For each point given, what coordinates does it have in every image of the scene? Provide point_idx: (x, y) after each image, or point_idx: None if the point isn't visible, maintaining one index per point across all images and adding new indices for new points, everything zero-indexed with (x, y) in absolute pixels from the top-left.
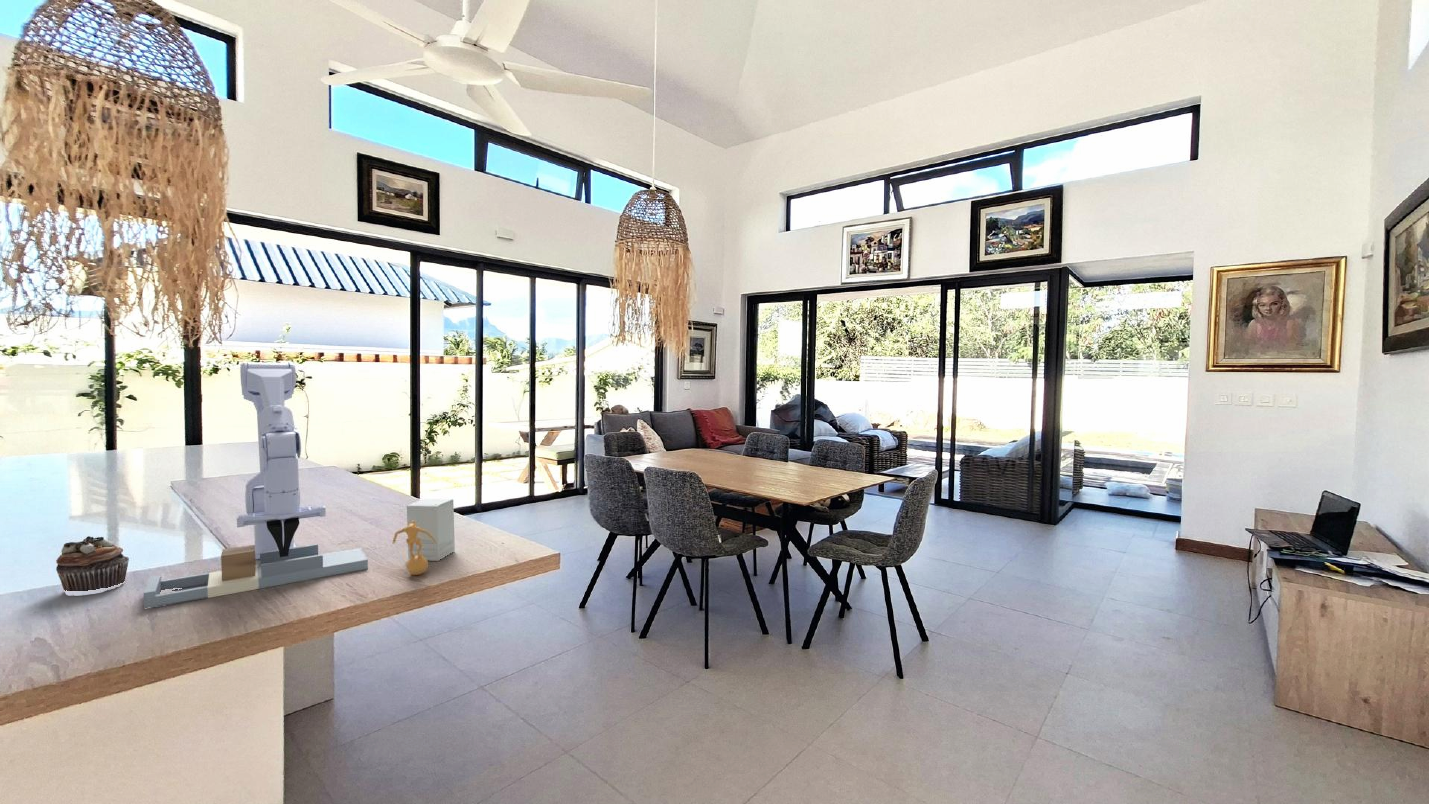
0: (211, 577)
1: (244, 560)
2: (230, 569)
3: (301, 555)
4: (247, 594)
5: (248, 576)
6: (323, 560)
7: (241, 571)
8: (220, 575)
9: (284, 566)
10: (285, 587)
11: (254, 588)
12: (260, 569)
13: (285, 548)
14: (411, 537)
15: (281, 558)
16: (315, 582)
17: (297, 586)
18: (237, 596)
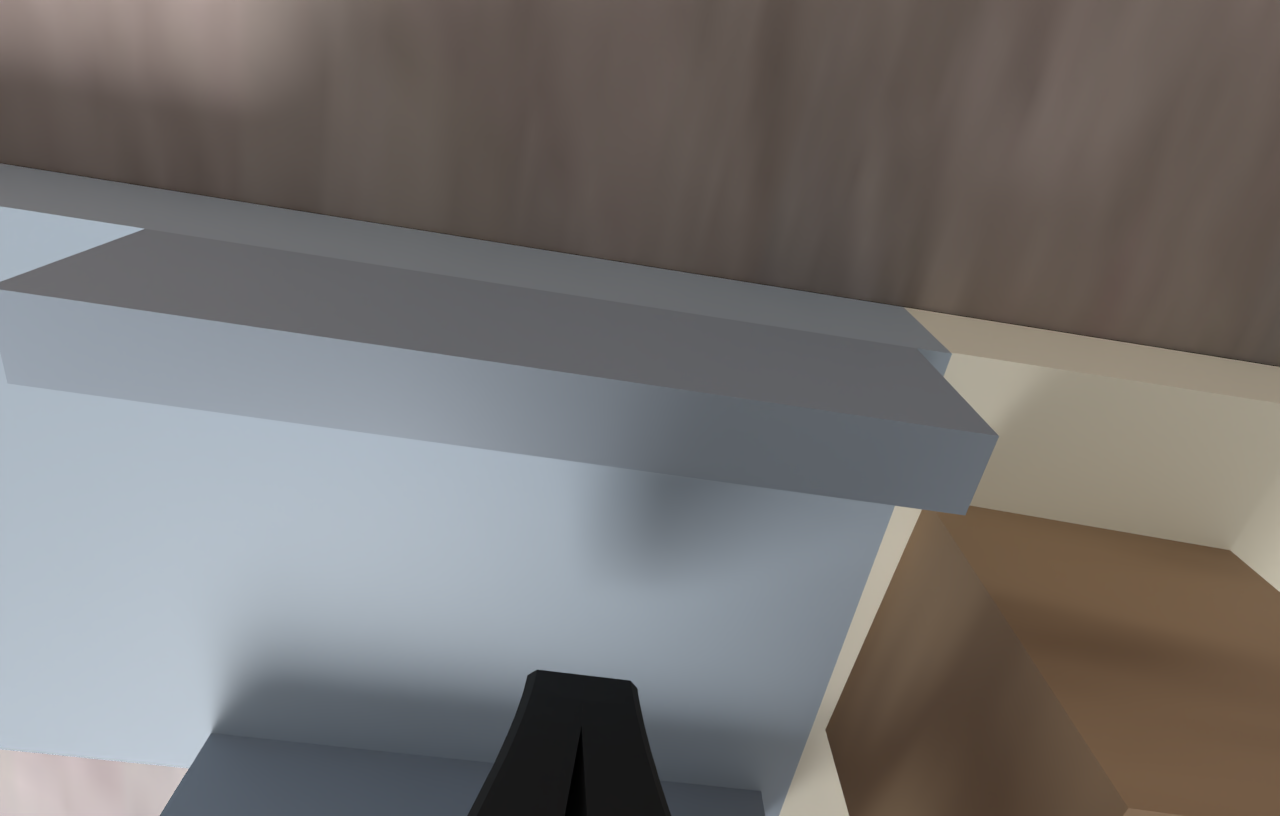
0: None
1: (1173, 690)
2: (1255, 631)
3: (369, 785)
4: (1060, 186)
5: (996, 511)
6: (149, 539)
7: (1107, 574)
8: None
9: (653, 349)
10: (676, 114)
11: (946, 317)
12: (804, 674)
13: (555, 777)
14: None
15: None
16: (330, 23)
17: (552, 30)
18: (1154, 196)
